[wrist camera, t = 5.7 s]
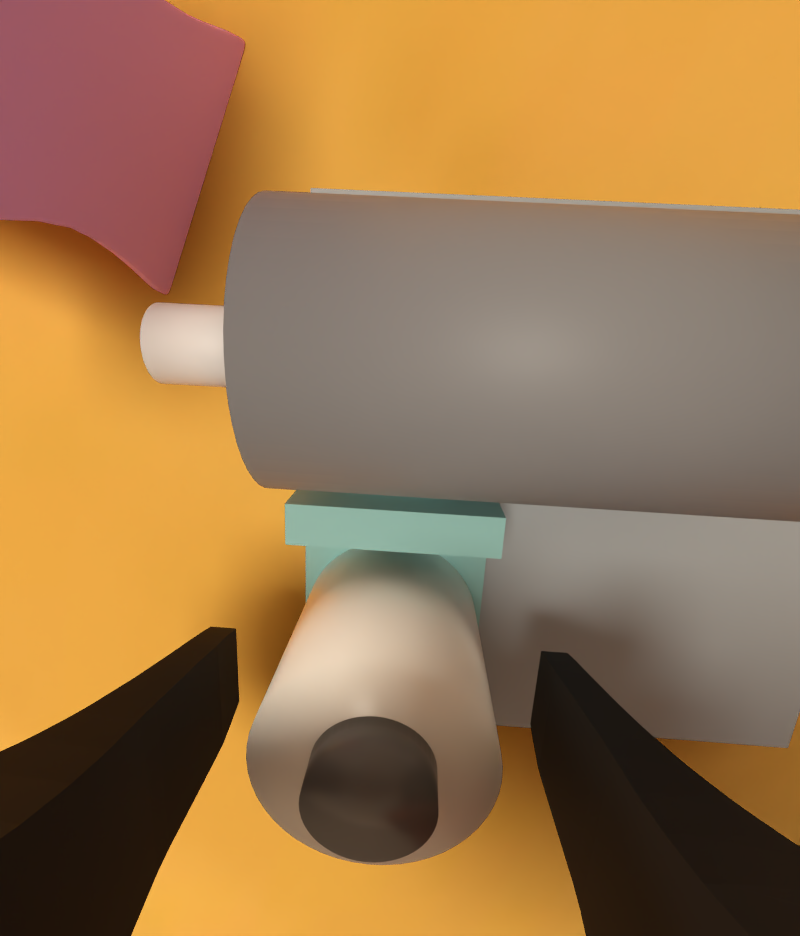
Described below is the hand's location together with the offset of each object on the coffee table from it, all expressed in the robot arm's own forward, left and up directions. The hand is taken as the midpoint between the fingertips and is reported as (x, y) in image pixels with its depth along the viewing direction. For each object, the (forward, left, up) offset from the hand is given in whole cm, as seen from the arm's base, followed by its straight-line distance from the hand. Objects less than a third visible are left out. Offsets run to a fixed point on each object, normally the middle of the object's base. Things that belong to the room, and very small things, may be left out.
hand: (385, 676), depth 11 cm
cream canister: (0, 0, -3) cm, 3 cm away
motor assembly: (-4, -4, -4) cm, 6 cm away
